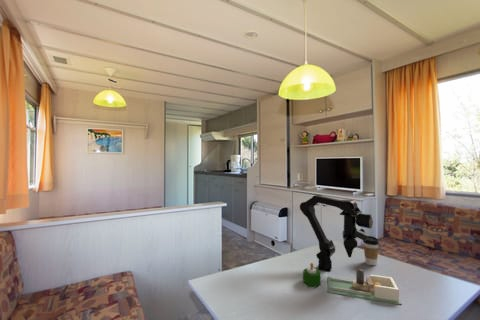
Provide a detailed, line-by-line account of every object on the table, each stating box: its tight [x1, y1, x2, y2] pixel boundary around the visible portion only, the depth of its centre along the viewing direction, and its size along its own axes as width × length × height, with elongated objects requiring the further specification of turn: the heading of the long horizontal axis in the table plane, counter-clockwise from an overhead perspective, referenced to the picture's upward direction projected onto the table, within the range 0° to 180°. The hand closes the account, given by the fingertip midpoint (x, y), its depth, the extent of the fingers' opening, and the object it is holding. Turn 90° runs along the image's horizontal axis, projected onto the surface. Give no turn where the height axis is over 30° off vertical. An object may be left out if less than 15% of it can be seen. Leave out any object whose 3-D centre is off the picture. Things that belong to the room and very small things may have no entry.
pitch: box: [327, 274, 402, 306], centre depth 113 cm, size 29×15×5 cm, turn 71°
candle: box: [302, 262, 322, 288], centre depth 120 cm, size 8×8×10 cm
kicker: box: [352, 268, 374, 294], centre depth 113 cm, size 8×7×8 cm
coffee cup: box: [362, 235, 380, 266], centre depth 142 cm, size 8×8×15 cm
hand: (349, 253), depth 126 cm, fingers open, 9 cm apart
